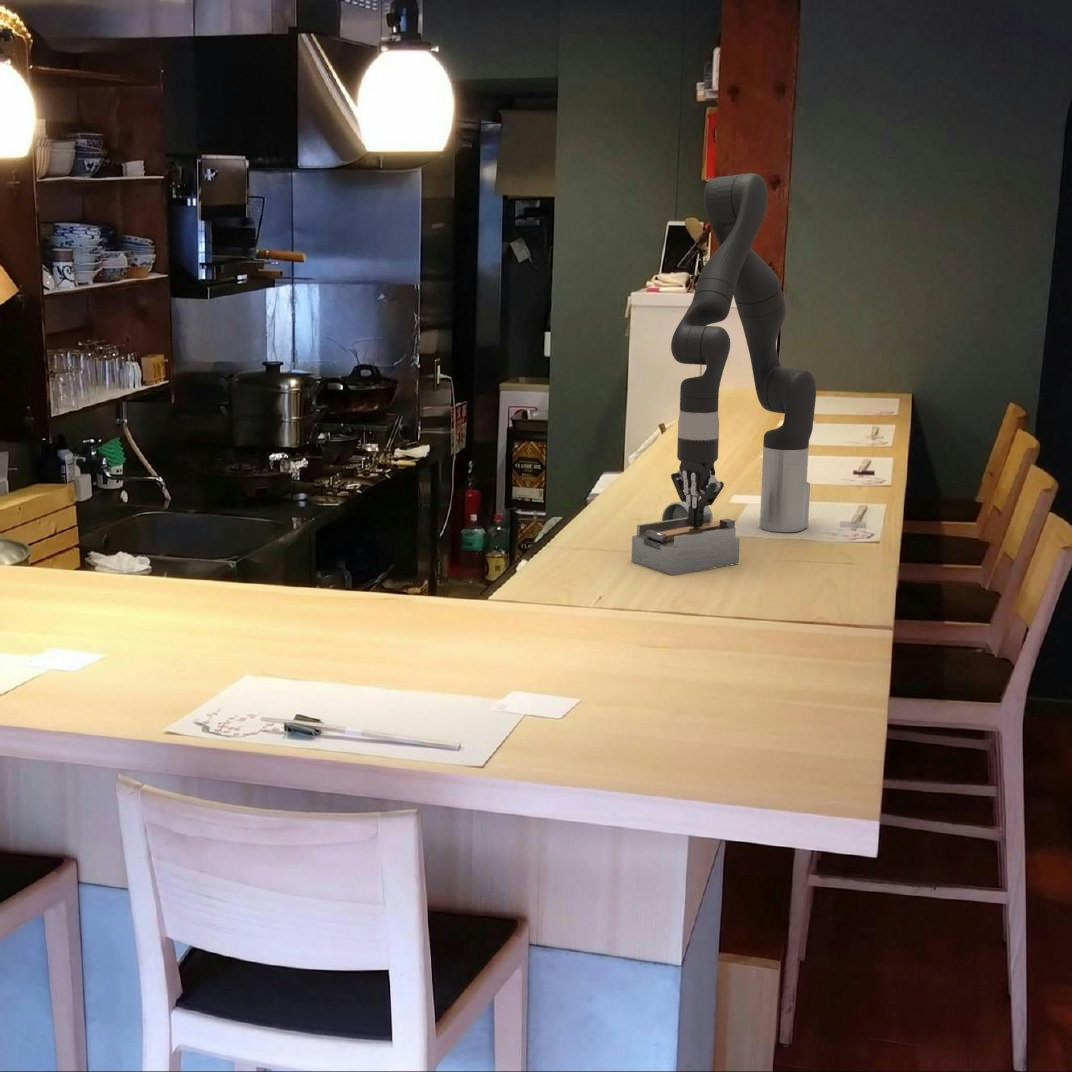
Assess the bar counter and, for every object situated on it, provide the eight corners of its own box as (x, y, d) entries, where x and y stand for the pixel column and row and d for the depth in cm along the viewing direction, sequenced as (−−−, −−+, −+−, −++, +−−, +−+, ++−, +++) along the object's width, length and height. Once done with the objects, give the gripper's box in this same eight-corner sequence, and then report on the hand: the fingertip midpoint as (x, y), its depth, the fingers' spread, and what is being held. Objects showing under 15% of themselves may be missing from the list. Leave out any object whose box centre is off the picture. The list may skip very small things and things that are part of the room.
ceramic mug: (715, 536, 274) (715, 499, 272) (690, 543, 268) (690, 505, 266) (674, 529, 281) (674, 493, 279) (649, 535, 275) (649, 498, 274)
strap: (715, 525, 258) (715, 517, 257) (730, 529, 254) (730, 521, 254) (645, 538, 249) (645, 530, 248) (660, 543, 245) (660, 534, 245)
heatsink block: (697, 550, 262) (698, 510, 260) (738, 563, 252) (740, 522, 250) (631, 561, 253) (632, 520, 251) (671, 575, 243) (673, 532, 241)
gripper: (737, 438, 245) (734, 530, 249) (690, 428, 255) (688, 517, 260) (706, 441, 241) (703, 536, 245) (659, 432, 251) (657, 522, 256)
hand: (695, 526), depth 252 cm, fingers closed
